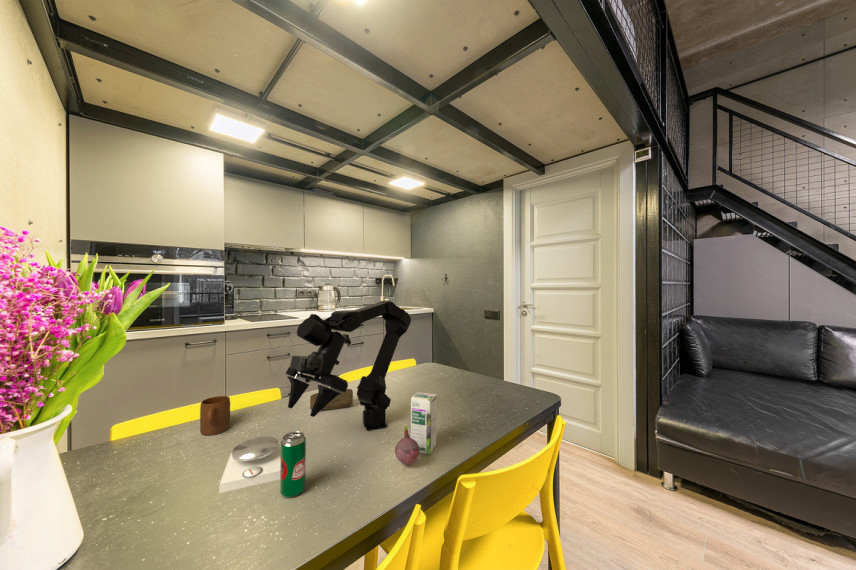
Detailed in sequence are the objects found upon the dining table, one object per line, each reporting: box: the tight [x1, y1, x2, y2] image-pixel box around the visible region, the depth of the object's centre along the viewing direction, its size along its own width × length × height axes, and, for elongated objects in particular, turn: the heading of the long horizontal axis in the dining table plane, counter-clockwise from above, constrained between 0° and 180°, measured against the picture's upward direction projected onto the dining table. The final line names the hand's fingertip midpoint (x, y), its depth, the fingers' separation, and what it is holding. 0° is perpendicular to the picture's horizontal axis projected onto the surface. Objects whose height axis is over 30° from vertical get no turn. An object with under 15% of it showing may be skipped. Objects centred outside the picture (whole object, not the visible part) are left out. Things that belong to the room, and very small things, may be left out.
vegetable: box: [394, 425, 420, 467], centre depth 76 cm, size 6×6×10 cm
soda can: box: [279, 431, 307, 499], centre depth 66 cm, size 5×5×12 cm
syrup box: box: [410, 391, 437, 456], centre depth 84 cm, size 6×6×14 cm
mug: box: [199, 395, 231, 436], centre depth 92 cm, size 12×8×9 cm, turn 25°
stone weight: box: [309, 388, 354, 411], centre depth 111 cm, size 15×7×7 cm, turn 112°
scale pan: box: [231, 436, 279, 461], centre depth 75 cm, size 10×10×2 cm
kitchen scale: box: [218, 442, 281, 494], centre depth 74 cm, size 12×14×2 cm
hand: (300, 412), depth 76 cm, fingers open, 9 cm apart
